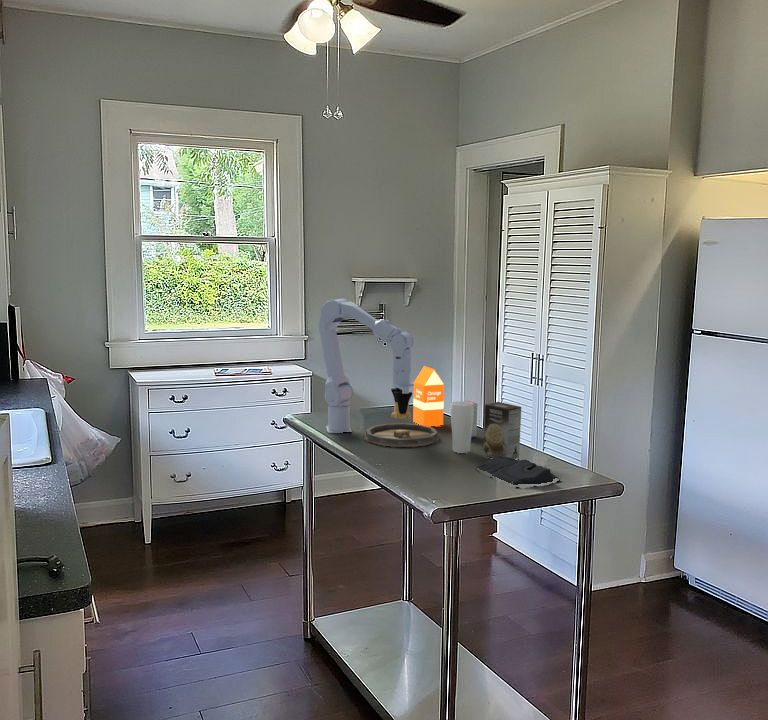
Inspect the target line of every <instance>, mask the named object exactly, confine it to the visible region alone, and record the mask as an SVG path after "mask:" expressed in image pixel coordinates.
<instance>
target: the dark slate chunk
mask: <svg viewBox="0 0 768 720" xmlns="http://www.w3.org/2000/svg"><path fill="white" fill-rule="evenodd" d="M476 468H479V469H480V470H483V471H487V472H488V473H490V474H492V476H494V477H497V478H499V479H501V480H504V481H506V482H508V483H511V484H513V485H518V484H541V483H547V482H552V481H553V479H555V478H559V477H558V476H556V475H555V474H553V473H551V469H550V468H546V467H543V466H542V465H537V464H536V463H535V462H531V461H529V460H528V459H521V460H515V459H512V458H509V457H502V456H499V457H496V458H494V459H492V460H491V459H489V461H487V462H484V463H481V464H479V465H478V466H476Z"/></svg>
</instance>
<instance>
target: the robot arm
mask: <svg viewBox="0 0 768 720" xmlns="http://www.w3.org/2000/svg"><path fill="white" fill-rule="evenodd" d="M346 318H351V319H354V320H356V321H357V322H359V323H361V324H363V325H364V326H366V327H368V328H369V329H371V330H372V334H373V335H374V337H377V338H378V339H380V340H382V341H384V342H385V343H386V344H388V345H389V347H390V348H391V349H392V383H391V387H394V388H390V391H391V393H392V396H393V400H394V403H395V402H398V410H399V413H400V414H406V412H407V408H408V403H409V402H410V401H411V397H412V396H413V392H412V391H410V388H411V387H414V382H411V376H412V375H411V374H412V373H411V370H412V369H411V366H412V365H411V362H412V361H411V360H412V359H411V358H412V356H411V355H412V352H411V351H412V349H411V348H412V347H413V345H414V341H415V340H414V336H413V335H412V334H411V333H410V332H409V331H402V329H401V328H400V327H396V326H394V325H393V324H391V323H390V322H391V321H390V320H388V319H379V320H378V319H376V318H375V317H373V316H372V315H371V314H370V313H368V312H367V311H365V310H364V309H363V308H361V307H360V306H358V305H357V304H356V303H355V302H353V301H350V299H348V298H345V297H344V298H338V299H327V300H326V301H325V302H324V303H323V305H322V306H321V307H320V317H319V320H318V331H319V335H320V342H321V346H322V352H323V358H324V363H325V368H326V374H327V379H326V381H325V384H324V388H325V389H324V390H325V391H324V399H325V402H326V403H327V406H328V407H327V409H328V411H327V413H328V414H327V416H328V417H327V423H328V424H327V425H325V428H326V431H327V433H328V434H344V433H343V432H352V433H353V430H352V429H351V424H350V423H351V422H350V421H351V419H350V418H351V417H350V416H351V415H350V414H351V406H350V405H351V399H353V397H354V388H353V387H352V386H351V383H350V381H349V380H350V379H349V378H348V377H347V376H346V375H345V372H344V367H343V361H342V356H341V355H342V354H341V350H340V345H339V339H338V333H337V328H338V326H339V325H340V323H341V322H342V321H343V320H345V319H346ZM409 404H410V403H409Z"/></svg>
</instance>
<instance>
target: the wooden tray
mask: <svg viewBox="0 0 768 720" xmlns="http://www.w3.org/2000/svg"><path fill="white" fill-rule="evenodd" d="M363 437H364V438H365V439H364V440H366V441H365V442H367V441H368V442H367V443H369V442H370V443H369V444H371V443H373V444H372V445H374V444H378V445H377V446H379V445H383V446H382V447H385V446H391V447H390V448H395V447H412V448H419V447H418V446H422V447H427V446H426V445H428V446H431V445H430V444H432V445H434V444H436V443H438V442H439V441H440V439H439V438H440V437H439V432H438V431H437V429H435V428H434V427H428V426H424V425H418V424H416V423H405V422H404V423H403V422H402V423H398V422H397V423H383V424H377V425H372V426H370V427H368V428H366V429H365V434H364V436H363ZM437 441H438V442H437ZM435 442H436V443H435ZM433 443H434V444H433Z"/></svg>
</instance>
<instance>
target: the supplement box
mask: <svg viewBox="0 0 768 720" xmlns="http://www.w3.org/2000/svg"><path fill="white" fill-rule="evenodd" d="M465 401H466V402H472V403H473V404H474V416H473V426H472V435H471V439H476V438H477V434H478V433H477V431H478V429H477V428H478V403H477V402H473V401H470V400H465Z"/></svg>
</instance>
